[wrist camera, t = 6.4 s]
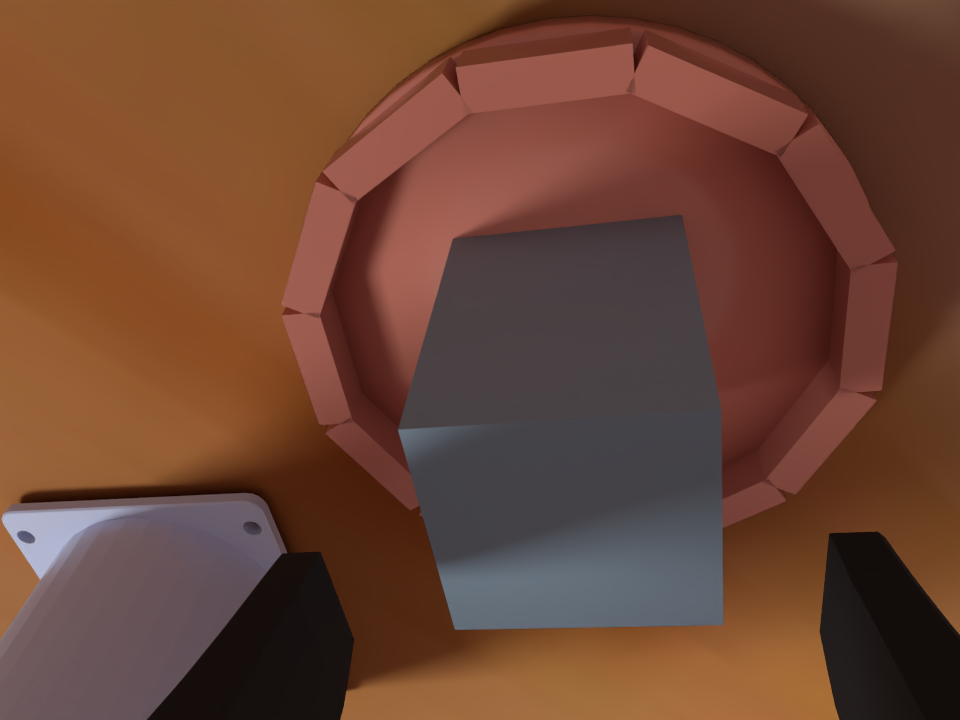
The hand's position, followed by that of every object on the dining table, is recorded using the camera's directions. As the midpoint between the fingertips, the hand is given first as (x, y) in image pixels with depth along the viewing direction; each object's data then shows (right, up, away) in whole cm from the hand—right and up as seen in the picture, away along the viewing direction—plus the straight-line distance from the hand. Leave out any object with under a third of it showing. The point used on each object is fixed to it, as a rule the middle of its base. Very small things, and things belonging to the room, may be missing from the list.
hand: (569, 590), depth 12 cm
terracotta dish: (+1, +5, +6) cm, 8 cm away
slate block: (+1, +4, +6) cm, 7 cm away
